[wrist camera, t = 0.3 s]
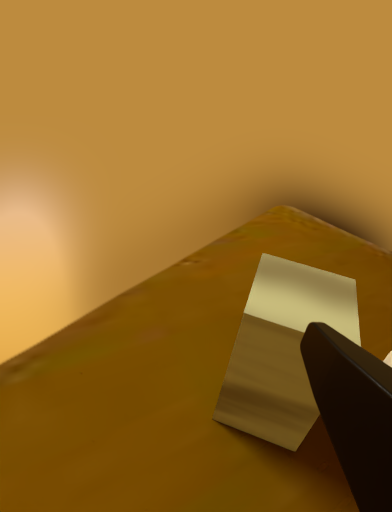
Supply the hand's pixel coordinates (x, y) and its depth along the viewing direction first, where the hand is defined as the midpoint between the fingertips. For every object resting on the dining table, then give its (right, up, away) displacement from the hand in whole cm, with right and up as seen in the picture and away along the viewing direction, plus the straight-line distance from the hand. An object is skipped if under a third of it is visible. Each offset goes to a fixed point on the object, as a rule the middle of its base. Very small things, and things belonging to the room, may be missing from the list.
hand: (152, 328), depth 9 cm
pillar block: (+6, -9, +17) cm, 20 cm away
